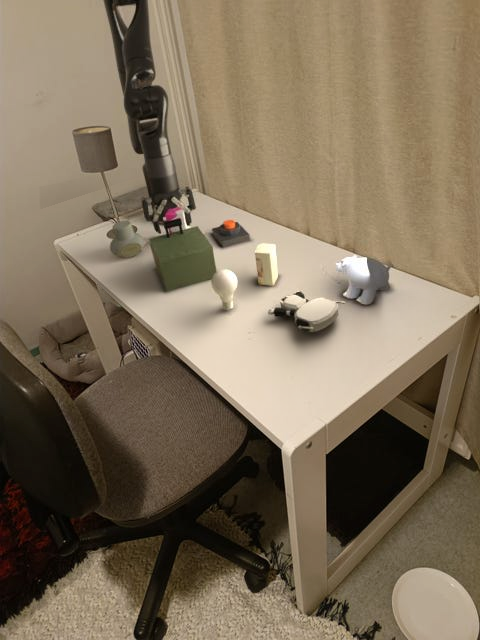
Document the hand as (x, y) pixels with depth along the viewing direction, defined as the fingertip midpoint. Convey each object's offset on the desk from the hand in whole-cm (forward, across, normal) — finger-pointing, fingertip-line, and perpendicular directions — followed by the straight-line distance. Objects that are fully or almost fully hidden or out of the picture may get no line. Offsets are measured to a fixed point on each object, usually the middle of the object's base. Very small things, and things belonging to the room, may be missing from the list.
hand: (173, 228), depth 125 cm
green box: (+12, 0, +5) cm, 13 cm away
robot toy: (+12, -20, +41) cm, 47 cm away
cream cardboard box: (+12, -19, +21) cm, 31 cm away
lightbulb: (+12, -5, +28) cm, 31 cm away
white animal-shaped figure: (+12, -38, +37) cm, 55 cm away
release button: (+8, -19, -9) cm, 22 cm away
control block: (+12, -19, -9) cm, 24 cm away
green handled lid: (+3, 0, +5) cm, 6 cm away
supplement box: (+12, -4, -14) cm, 19 cm away
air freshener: (+12, +13, -17) cm, 24 cm away
